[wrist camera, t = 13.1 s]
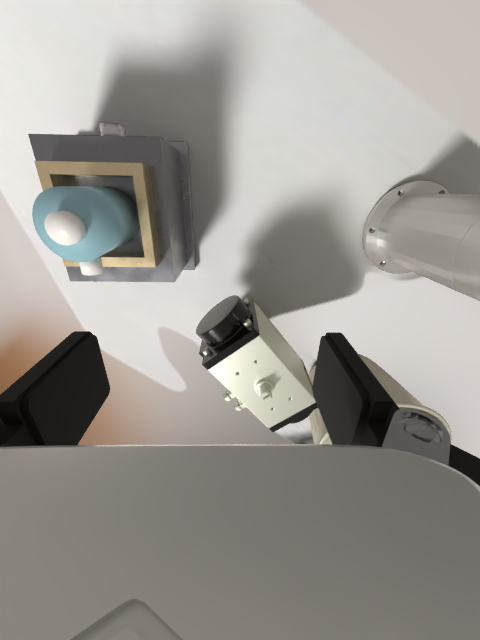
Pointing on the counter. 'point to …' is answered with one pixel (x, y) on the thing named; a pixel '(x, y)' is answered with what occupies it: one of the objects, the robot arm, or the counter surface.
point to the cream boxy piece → (255, 363)
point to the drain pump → (84, 223)
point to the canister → (392, 388)
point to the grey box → (140, 186)
